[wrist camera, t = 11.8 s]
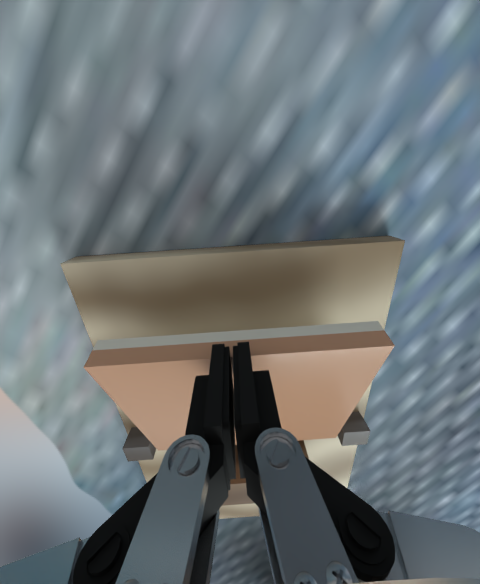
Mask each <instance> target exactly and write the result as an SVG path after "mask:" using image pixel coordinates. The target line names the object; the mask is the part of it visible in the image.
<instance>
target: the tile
mask: <svg viewBox="0 0 480 584" xmlns="http://www.w3.org/2000/svg"><path fill="white" fill-rule="evenodd" d="M237 342H249V345H250V353H251V361H252V369H253V371H262V370H269V373H270V377H271V382H272V386H273V391H274V396H275V400H276V405H277V409H278V414H279V419H280V423H281V428H282V429H285V430H287V431H289V432H290V433H291V434H293V435H294V436H295V437H296V439H297V441H299V440H313V439H327V438H336V437H337V435H338V434H339V432H340V431H341V429H342V427H343V426H344V424H345V423H346V421H347V420H348V418H349V416H350V415H351V413H352V412H353V410H354V409H355V407H356V405H357V404H358V402H359V401H360V399H361V398H362V396H363V394H364V393H365V391H366V390H367V388H368V387H369V385H370V383H371V382H372V380H373V379H374V377H375V376H376V374H377V372H378V371H379V369H380V368H381V366H382V365H383V363H384V362H385V360H386V358H387V357H388V355H389V354H390V352H391V351H392V349H393V347H394V344H393V343H392V341H391V340H390V338H389V337H388V335H387V334H386V332H385V331H384V329H383V328H382V326H381V325H380V323H379V322H378V321H370V322H355V323H341V324H326V325H312V326H297V327H283V328H268V329H254V330H239V331H225V332H210V333H196V334H181V335H167V336H152V337H138V338H124V339H109V340H97V342H96V344H95V346H94V348H93V350H92V352H91V354H90V356H89V358H88V360H87V362H86V364H85V366H84V368H85V370H86V371H87V372H88V373H89V374H90V375H91V376H92V377H93V378H94V380H95V381H96V382H97V383H98V384H99V385H100V386H101V387H102V388H103V390H104V391H105V392H106V393H107V394H108V395H109V396H110V397H111V399H112V400H113V401H114V402H115V403H116V404H117V405H118V406H119V407H120V409H121V410H122V411H123V412H124V413H125V414H126V415H127V416H128V417H129V419H130V420H131V421H132V422H133V423H134V424H135V425H136V426H137V428H138V429H139V430H140V431H141V432H142V433H143V434H144V435H145V436H146V438H147V439H148V440H149V441H150V442H151V443H152V444H153V445H154V446H155V448H156V449H157V450H158V451H159V450H167V449H168V448H169V447H170V445H171V444H172V443H173V442H174V441H176V440H177V439H179V438H180V437H183V436H185V432H186V426H187V421H188V415H189V410H190V404H191V399H192V393H193V387H194V382H195V377H196V376H199V375H209V369H210V360H211V351H212V345H213V344H225V347H227V346H229V349H230V359H231V368H232V378H233V346H237ZM233 388H234V379H233ZM235 445H237V442H236V433H235Z"/></svg>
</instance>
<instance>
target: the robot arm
mask: <svg viewBox="0 0 480 584" xmlns="http://www.w3.org/2000/svg"><path fill="white" fill-rule="evenodd" d="M233 379H234V388H233ZM235 433H236V442H237V451H238V461H239V470H240V479H243V478H246V488H247V496H248V497H249V498H250V499H251V500H252V501H253V502H254V503H255V504H256V505H257V506H258V510H259V515H260V519H261V524H262V529H263V534H264V538H265V543H266V548H267V553H268V557H269V562H270V567H271V572H272V576H273V581H274V584H480V533H479V532H478V531H476V530H474V529H472V528H469V527H466V526H464V525H459V524H454V523H449V522H444V521H439V520H434V519H429V518H424V517H419V516H414V515H409V514H404V513H399V512H394V511H389V512H388V514H387V513H382V512H377V511H375V510H374V509H373V508H372V507H371V506H370V505H369V504H367V503H366V502H365V501H363V500H362V499H361V498H359V497H358V496H357V495H355V494H354V493H353V492H351V491H350V490H349V489H347V488H346V487H345V486H343V485H342V484H341V483H339V482H338V481H337V480H335V479H334V478H333V477H331V476H330V475H329V474H327V473H326V472H325V471H323V470H322V469H321V468H320V467H318V466H317V465H316V464H314V463H313V462H312V461H310V460H309V459H308V458H306V457H305V455H304V453H303V451H302V448H301V446H300V444H299V442H298V441H297V439H296V437H295V436H294V435H293V434H291V433H290V432H289V431H287V430H285V429H282V428H281V423H280V419H279V414H278V409H277V405H276V400H275V396H274V391H273V386H272V382H271V377H270V373H269V370H262V371H253V369H252V361H251V353H250V345H249V342H237V346H233V378H232V368H231V359H230V349H229V346H227V347H225V344H213V345H212V351H211V360H210V369H209V375H199V376H196V377H195V382H194V387H193V393H192V399H191V404H190V410H189V415H188V421H187V426H186V432H185V436H183V437H180V438H179V439H177V440H176V441H174V442H173V443H172V444H171V445H170V447H169V448H168V449H167V451H166V453H165V455H164V458H163V460H162V463H161V465H160V468H159V471H158V473H157V474H156V475H155V476H154V477H153V478H151V479H150V480H149V481H148V482H147V483H146V484H145V485H144V486H143V487H142V488H141V489H140V490H139V491H138V492H137V493H135V494H134V495H133V496H132V497H131V498H130V499H129V500H128V501H127V502H126V503H125V504H124V505H123V506H122V507H121V508H119V509H118V510H117V511H116V512H115V513H114V514H113V515H112V516H111V517H110V518H109V519H108V520H107V521H106V522H105V523H104V524H102V525H101V526H100V527H99V528H98V529H97V530H96V531H95V533H94V534H93V535H92V536H91V537H89V538H86V539H84V540H81V539H80V538H76V539H74V540H71V541H68V542H66V543H63V544H61V545H58V546H55V547H52V548H50V549H47V550H44V551H42V552H39V553H36V554H34V555H31V556H28V557H25V558H23V559H20V560H17V561H15V562H12V563H10V564H7V565H4V566H2V567H0V584H210V577H211V570H212V563H213V557H214V550H215V543H216V536H217V529H218V522H219V515H220V507H221V506H222V505H223V503H224V502H225V501H226V499H227V498H228V490H230V480H231V479H236V458H235Z"/></svg>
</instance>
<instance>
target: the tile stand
mask: <svg viewBox="0 0 480 584" xmlns="http://www.w3.org/2000/svg"><path fill="white" fill-rule="evenodd" d="M404 243H405V240H401V239H398V238H395V237H392V236H377V237H362V238H347V239H332V240H317V241H302V242H287V243H273V244H258V245H243V246H228V247H213V248H198V249H183V250H169V251H154V252H139V253H124V254H109V255H94V256H80V257H74V258H72V259H70V260H68V261H66V262H63V263H61V267H62V269H63V272H64V274H65V277H66V279H67V282H68V284H69V287H70V289H71V292H72V294H73V297H74V299H75V302H76V305H77V307H78V310H79V312H80V315H81V317H82V320H83V322H84V325H85V327H86V330H87V332H88V335H89V337H90V340H91V342H92V345H93V348H94V346H95V344H96V342H97V340H109V339H124V338H138V337H152V336H167V335H181V334H196V333H210V332H225V331H239V330H254V329H268V328H283V327H297V326H312V325H326V324H341V323H355V322H370V321H378V322H379V323H380V325H381V326H382V328H383V329H384V328H385V324H386V320H387V315H388V311H389V307H390V303H391V298H392V294H393V290H394V285H395V281H396V277H397V273H398V268H399V264H400V260H401V255H402V251H403V247H404ZM371 384H372V382H371V383H370V385H369V387H368V388H367V390H366V391H365V393H364V394H363V396H362V398H361V399H360V401H359V402H358V404H357V405H356V407H355V409H354V410H353V412H352V413H351V415H350V416H349V418H348V420H347V421H346V423H345V424H344V426H343V427H342V429H341V431H340V432H339V434H338V435H337V437H336V438H327V439H313V440H299V441H298V442H299V444H300V446H301V448H302V451H303V453H304V455H305V457H306V458H308V459H309V460H310V461H312V462H313V463H314V464H316V465H317V466H318V467H320V468H321V469H322V470H323V471H325V472H326V473H327V474H329V475H330V476H331V477H333V478H334V479H335V480H337V481H338V482H339V483H341V484H342V485H343V486H345V487H346V488H347V487H348V483H349V478H350V474H351V470H352V466H353V461H354V457H355V453H356V448H357V445H363V444H367V442H368V438H369V434H370V429H369V428H368V426H367V424H366V422H365V421H364V419H363V418H364V414H365V410H366V406H367V401H368V397H369V393H370V388H371ZM116 406H117V408H118V411H119V413H120V416H121V418H122V421H123V423H124V426H125V428H126V431H127V433H128V437H127V439H126V442H125V444H124V446H123V451H124V453H125V455H126V458H127V460H128V461H139V464H140V466H141V469H142V471H143V474H144V476H145V479H146V481H147V482H148V481H149V480H150V479H151V478H153V477H154V476H155V475H156V474H157V473H158V471H159V468H160V465H161V463H162V460H163V458H164V455H165V453H166V451H167V450H159V451H158V450H157V449H156V448H155V446H154V445H153V444H152V443H151V442H150V441H149V440H148V439H147V438H146V436H145V435H144V434H143V433H142V432H141V431H140V430H139V429H138V428H137V426H136V425H135V424H134V423H133V422H132V421H131V420H130V419H129V417H128V416H127V415H126V414H125V413H124V412H123V411H122V410H121V409H120V407H119V406H118V405H117V404H116ZM235 458H236V479H231V480H230V490H228V498H227V499H226V501H225V502H224V503H223V505H222V506H221V507H220V515H219V519H223V518H237V517H250V516H260V515H259V510H258V506H257V505H256V504H255V503H254V502H253V501H252V500H251V499H250V498H249V497H248V496H247V488H246V478H243V479H240V470H239V461H238V451H237V445H235Z"/></svg>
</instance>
